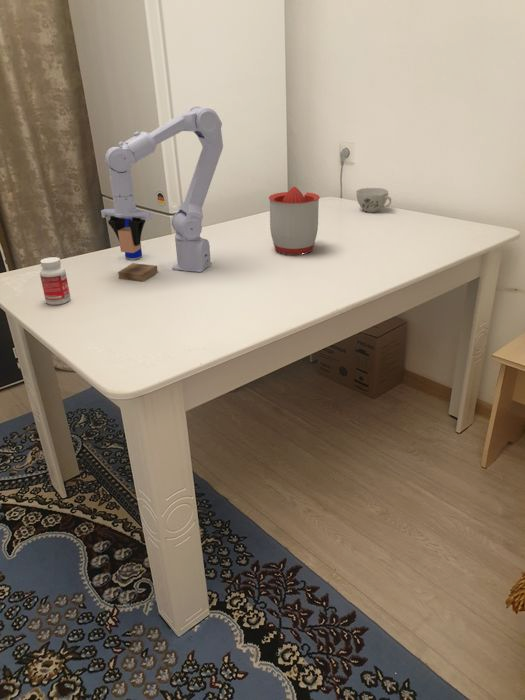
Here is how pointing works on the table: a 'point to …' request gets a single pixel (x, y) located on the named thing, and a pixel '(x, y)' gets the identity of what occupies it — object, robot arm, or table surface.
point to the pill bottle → (54, 281)
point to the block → (127, 240)
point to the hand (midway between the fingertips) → (130, 244)
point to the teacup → (372, 199)
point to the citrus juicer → (294, 221)
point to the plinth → (138, 272)
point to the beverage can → (136, 254)
